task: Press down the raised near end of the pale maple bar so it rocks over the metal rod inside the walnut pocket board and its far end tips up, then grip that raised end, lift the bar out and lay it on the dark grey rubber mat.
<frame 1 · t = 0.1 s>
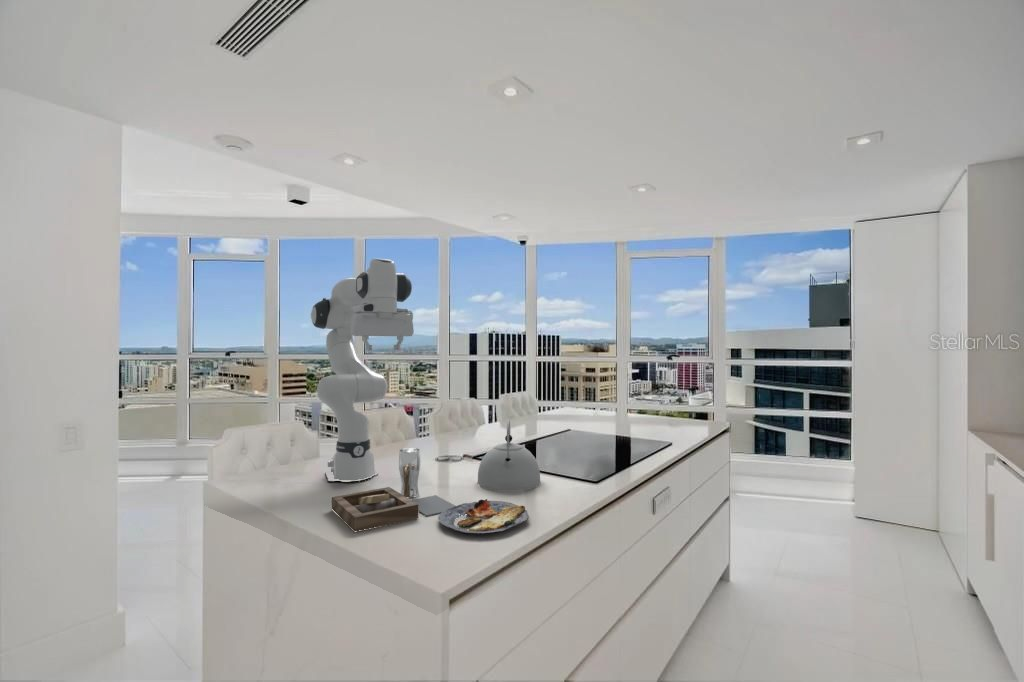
hand: (383, 350, 161), 48 cm above the countertop, tool pointing down, fingers open, 8 cm apart
food plate: (484, 523, 138), on the countertop
kettle: (508, 483, 177), on the countertop
pocket board: (373, 514, 145), on the countertop
maple bar: (373, 499, 145), point 4 cm above the countertop, tilted 41°, touching pocket board
rubber mat: (431, 505, 152), on the countertop
drinking glass: (409, 496, 163), on the countertop
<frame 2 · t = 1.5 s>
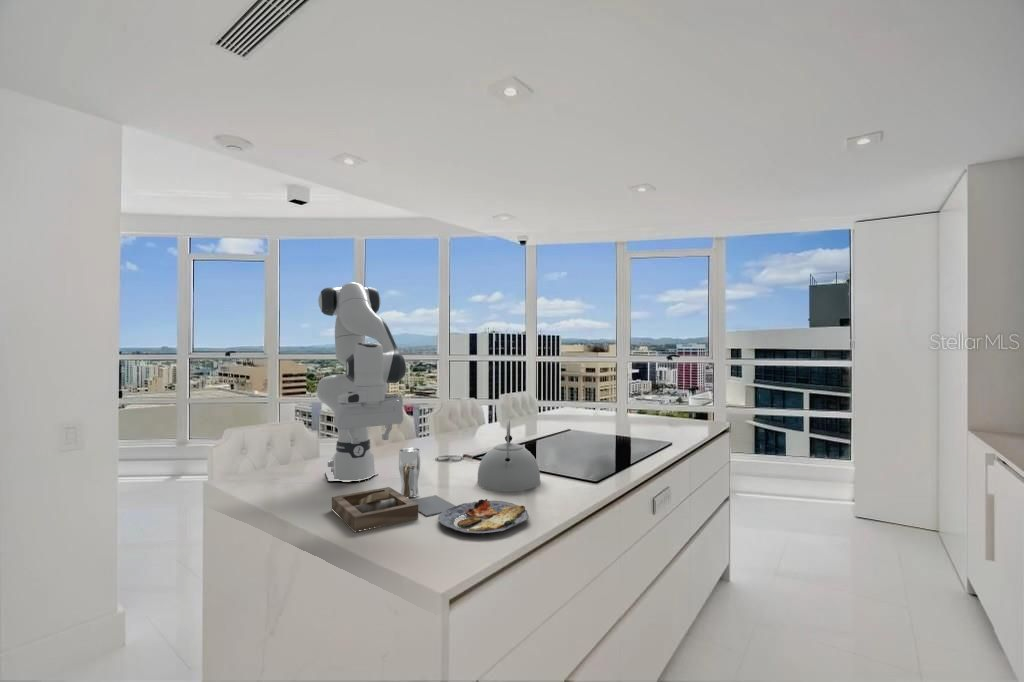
hand: (370, 441, 148), 21 cm above the countertop, tool pointing down, fingers open, 8 cm apart
maple bar: (373, 498, 145), point 4 cm above the countertop, tilted 47°, touching pocket board
everything else where it was.
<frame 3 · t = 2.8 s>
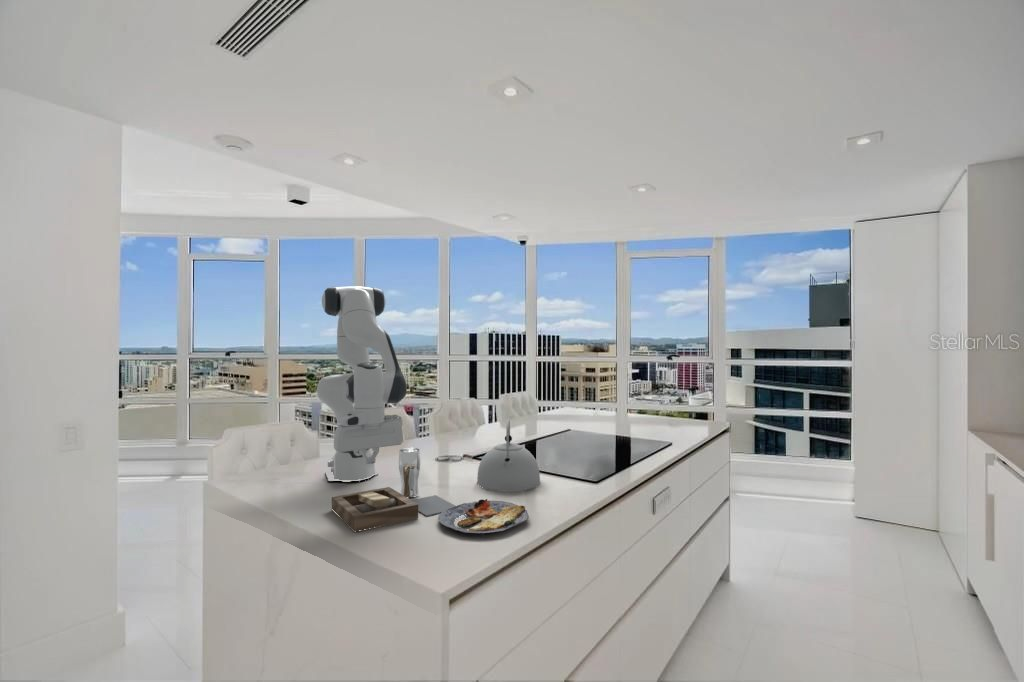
hand: (369, 463, 147), 14 cm above the countertop, tool pointing down, fingers closed
maple bar: (373, 499, 145), point 4 cm above the countertop, tilted 32°, touching pocket board
everything else where it was.
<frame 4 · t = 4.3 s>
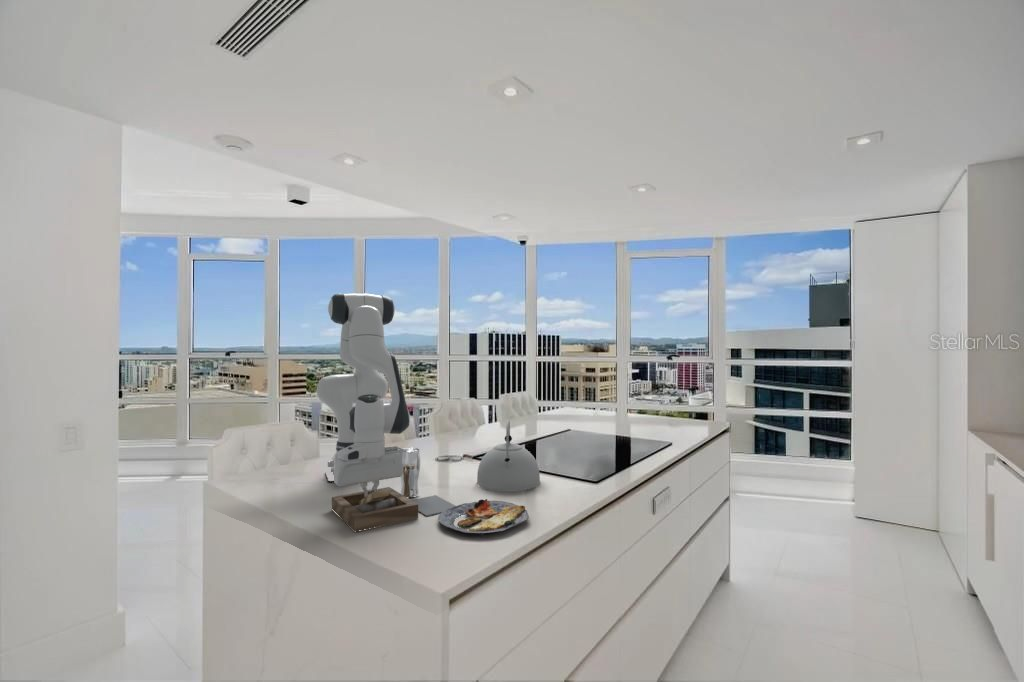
hand: (369, 496, 148), 4 cm above the countertop, tool pointing down, fingers closed, pressing on maple bar
maple bar: (373, 498, 145), point 4 cm above the countertop, tilted 51°, touching gripper, pocket board
everything else where it was.
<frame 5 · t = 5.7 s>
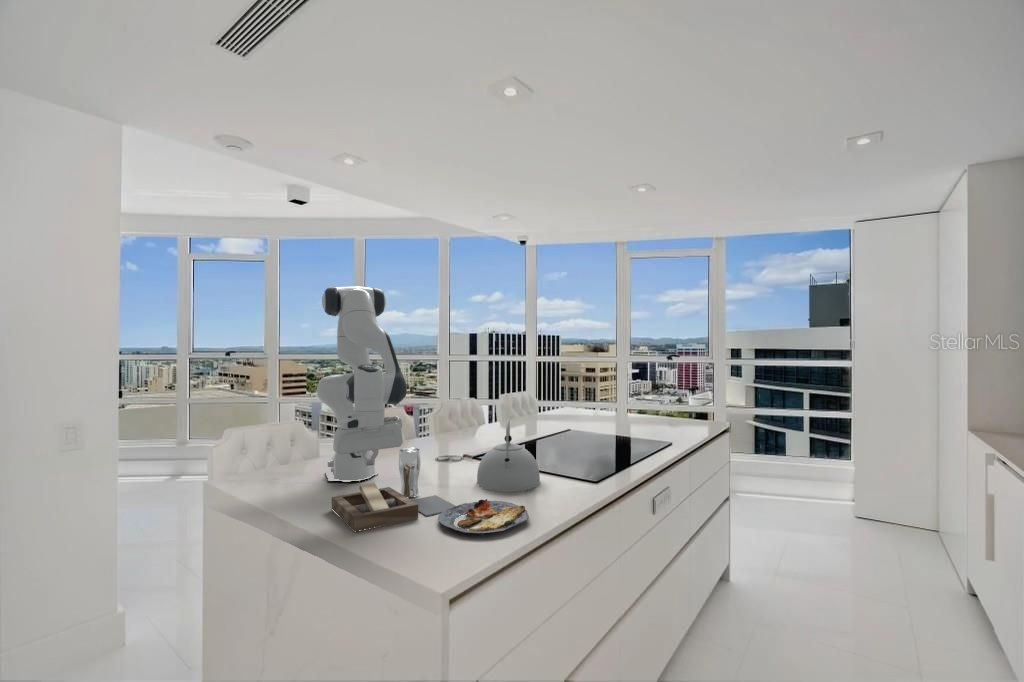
hand: (368, 465, 148), 14 cm above the countertop, tool pointing down, fingers closed
maple bar: (374, 499, 144), point 4 cm above the countertop, touching pocket board
everything else where it was.
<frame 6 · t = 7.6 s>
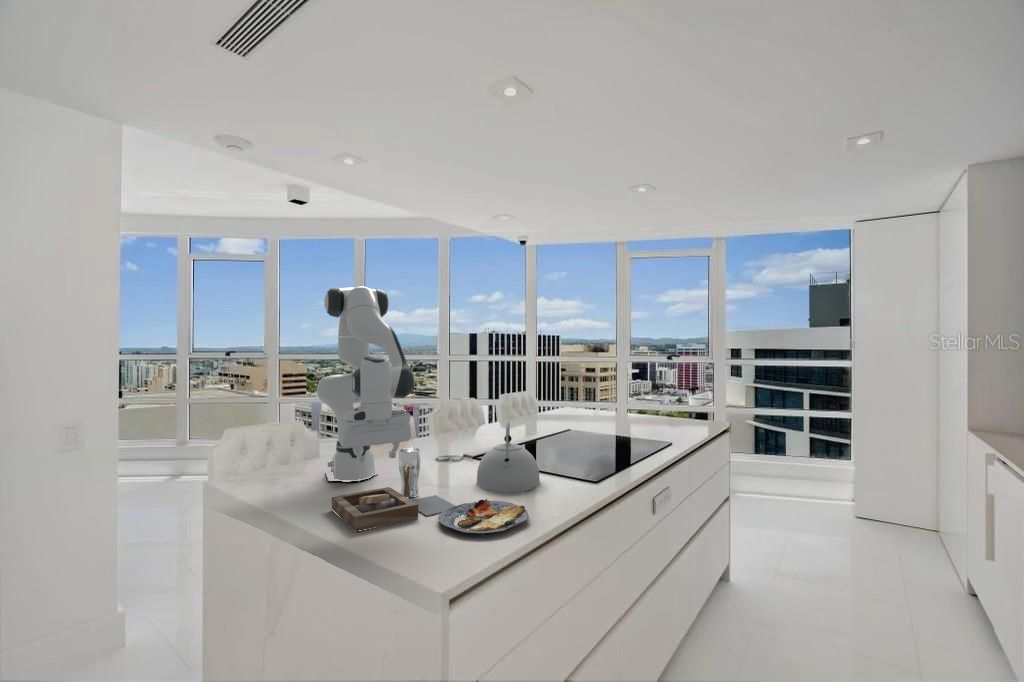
hand: (376, 460, 143), 16 cm above the countertop, tool pointing down, fingers open, 8 cm apart
maple bar: (373, 499, 145), point 4 cm above the countertop, tilted 40°, touching pocket board
everything else where it was.
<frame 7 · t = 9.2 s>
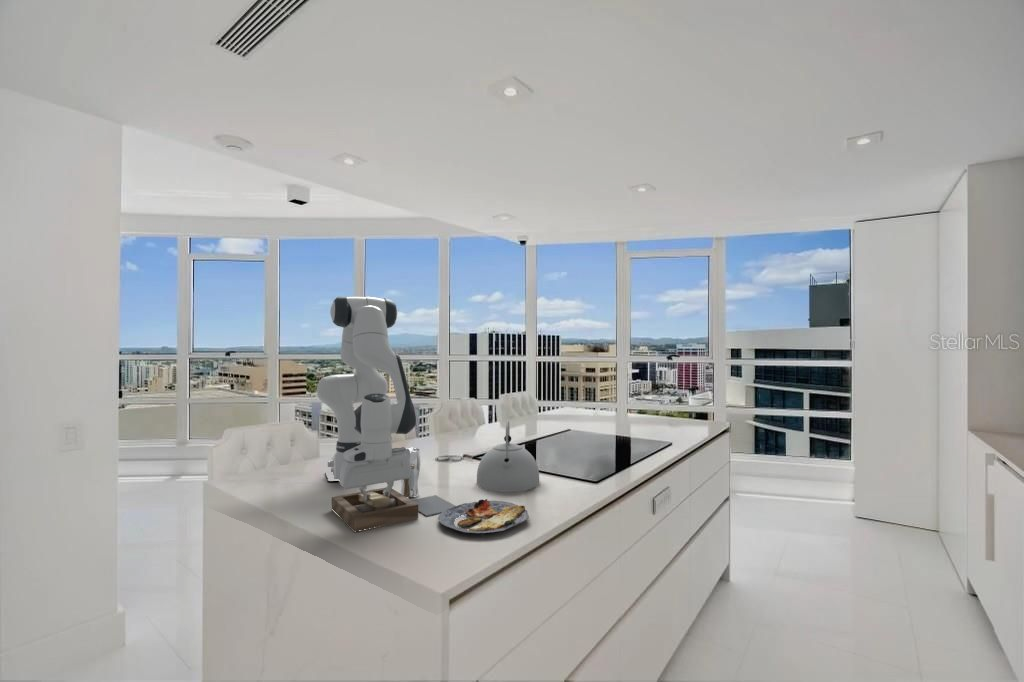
hand: (376, 498, 143), 5 cm above the countertop, tool pointing down, fingers closed on maple bar, 4 cm apart
maple bar: (373, 499, 145), point 4 cm above the countertop, tilted 32°, touching gripper, pocket board
everything else where it was.
when the fingers open (7 cm above the countertop, at t = 14.8 s): maple bar drops 5 cm, resting on rubber mat.
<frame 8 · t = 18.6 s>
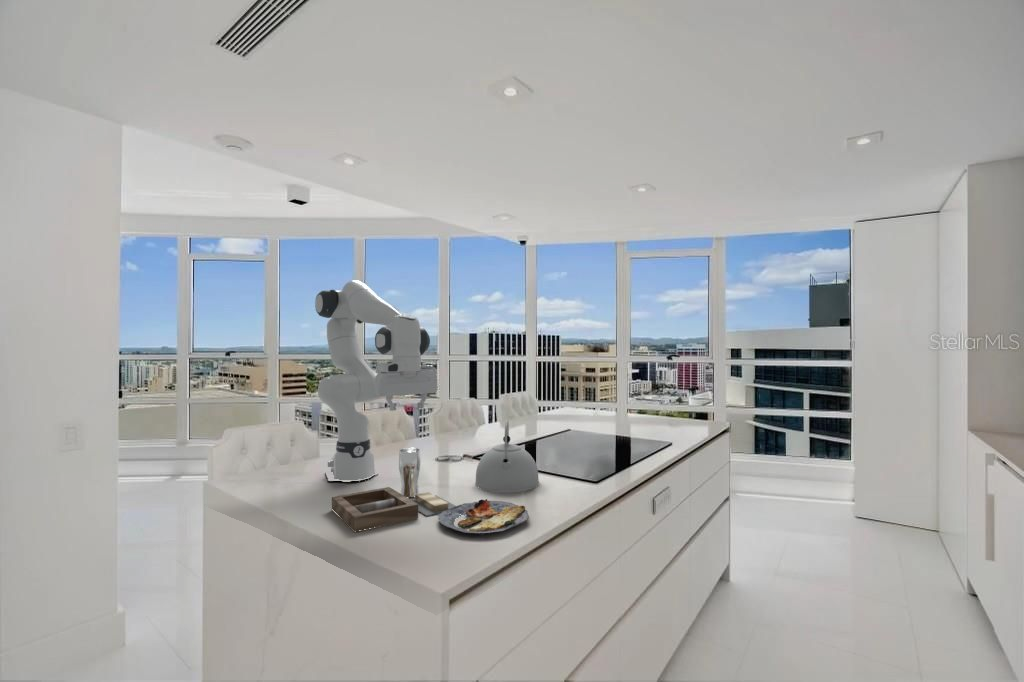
hand: (407, 409, 157), 29 cm above the countertop, tool pointing down, fingers open, 8 cm apart
maple bar: (431, 501, 152), point 1 cm above the countertop, tilted 25°, touching rubber mat
at the end: maple bar inside the target area (0.6 cm from its centre), point 1.3 cm above the countertop; maple bar touching rubber mat; the gripper is holding nothing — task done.
